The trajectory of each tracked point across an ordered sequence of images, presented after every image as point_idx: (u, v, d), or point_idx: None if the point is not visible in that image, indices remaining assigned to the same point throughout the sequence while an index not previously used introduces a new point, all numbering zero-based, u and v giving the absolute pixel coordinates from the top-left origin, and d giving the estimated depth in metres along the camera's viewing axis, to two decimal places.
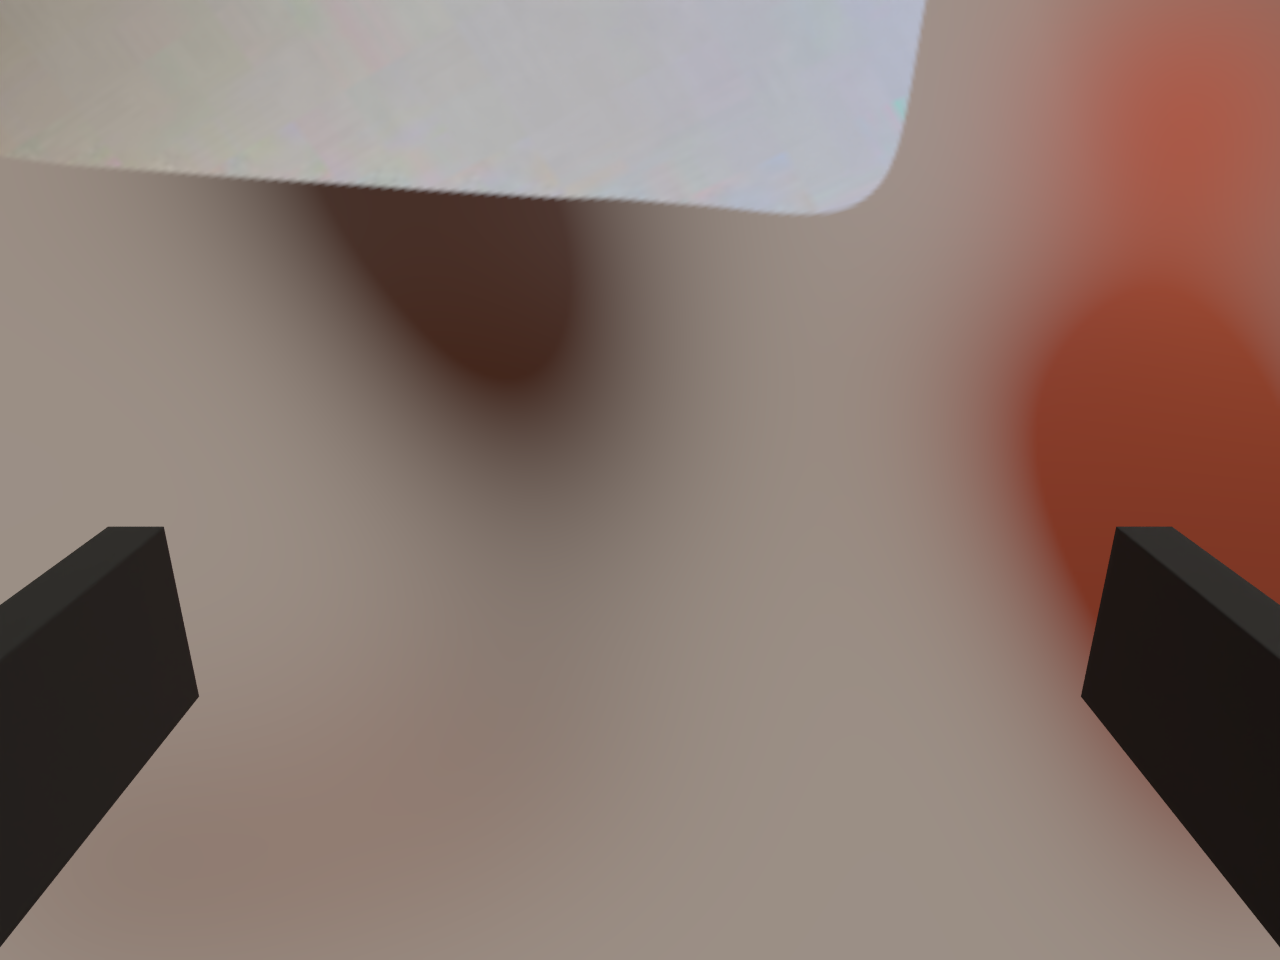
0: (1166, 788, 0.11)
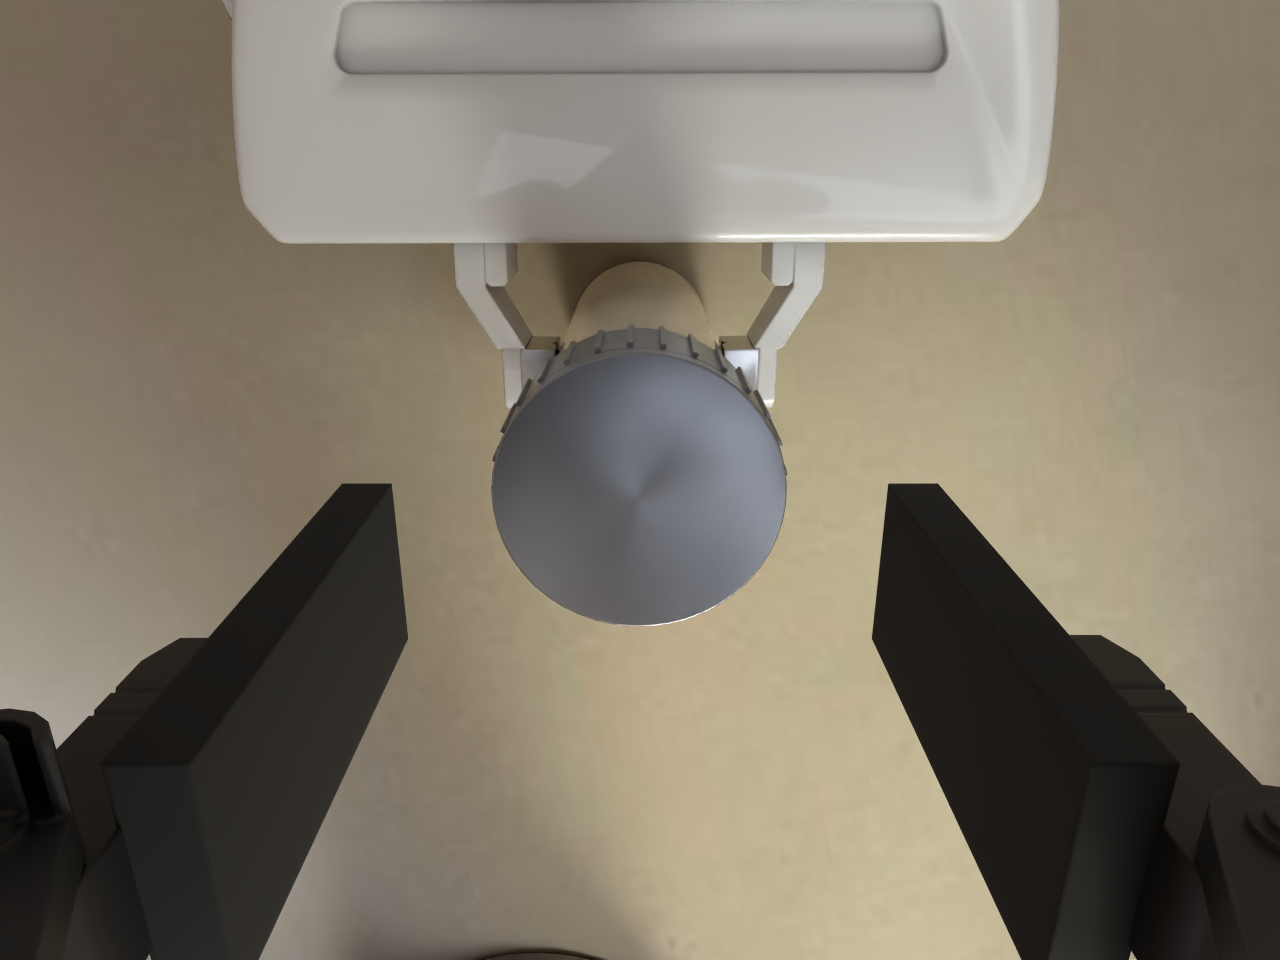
0: (911, 709, 0.12)
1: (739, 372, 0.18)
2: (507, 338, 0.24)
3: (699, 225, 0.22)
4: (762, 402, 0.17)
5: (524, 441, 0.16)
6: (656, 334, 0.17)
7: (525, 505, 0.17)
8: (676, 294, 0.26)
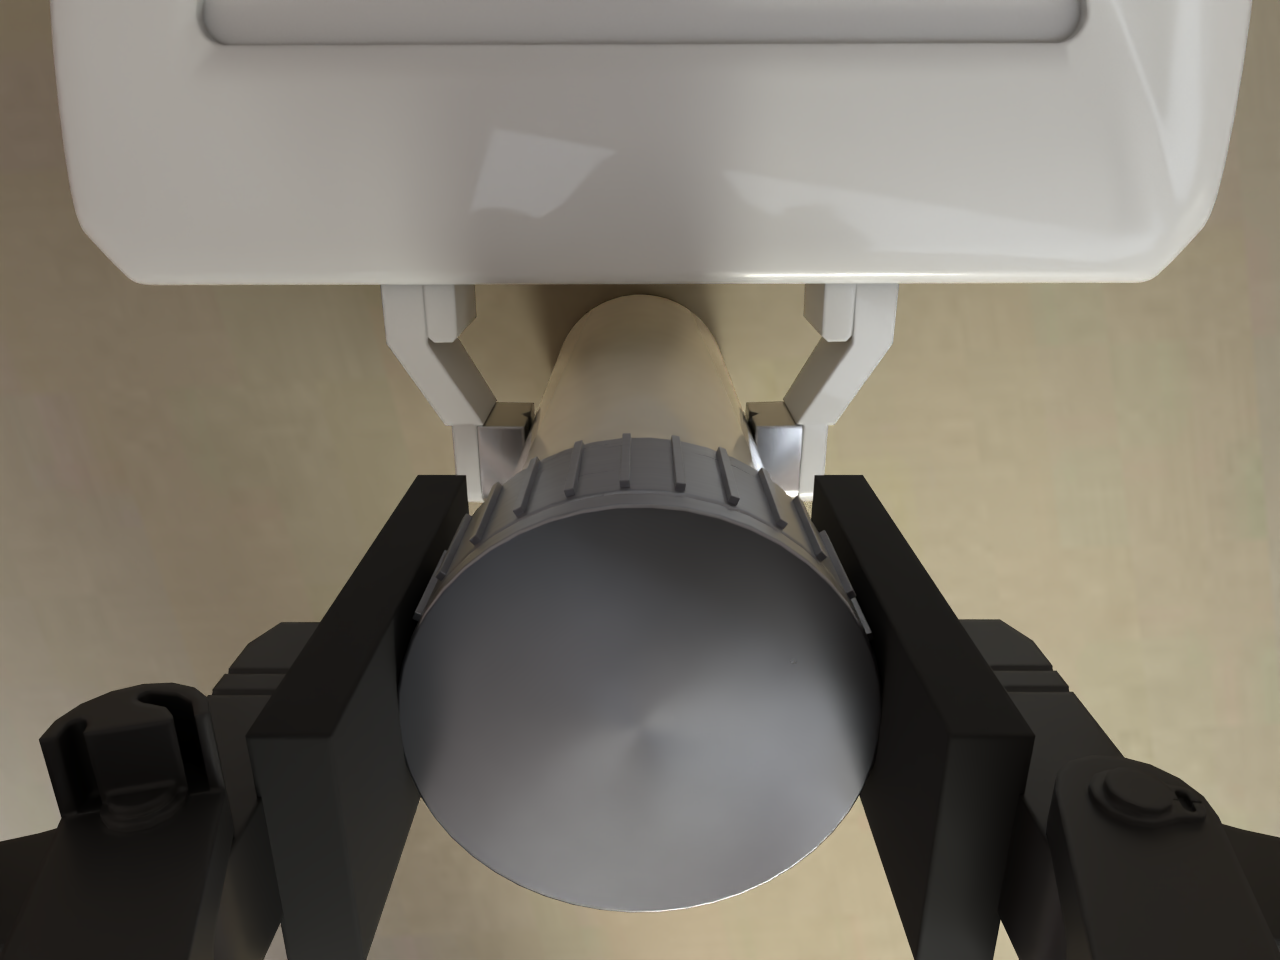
0: None
1: (799, 509, 0.11)
2: (459, 412, 0.18)
3: (724, 261, 0.16)
4: (838, 562, 0.11)
5: (448, 644, 0.10)
6: (667, 452, 0.11)
7: (453, 740, 0.10)
8: (689, 347, 0.19)
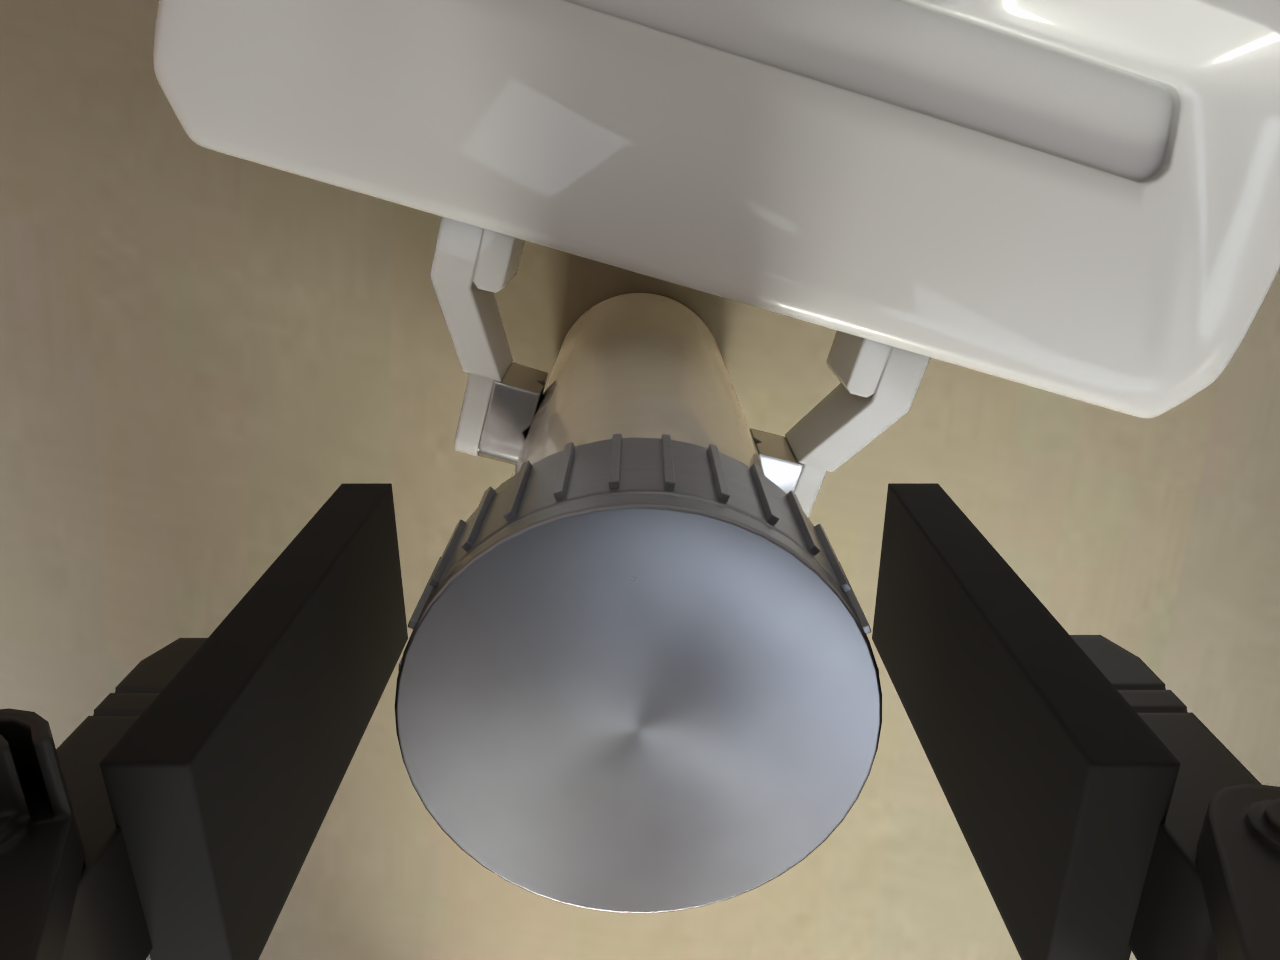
0: (912, 709, 0.12)
1: (564, 458, 0.11)
2: (481, 362, 0.17)
3: (782, 291, 0.16)
4: (610, 460, 0.10)
5: (477, 828, 0.11)
6: None
7: (573, 866, 0.11)
8: (712, 361, 0.19)
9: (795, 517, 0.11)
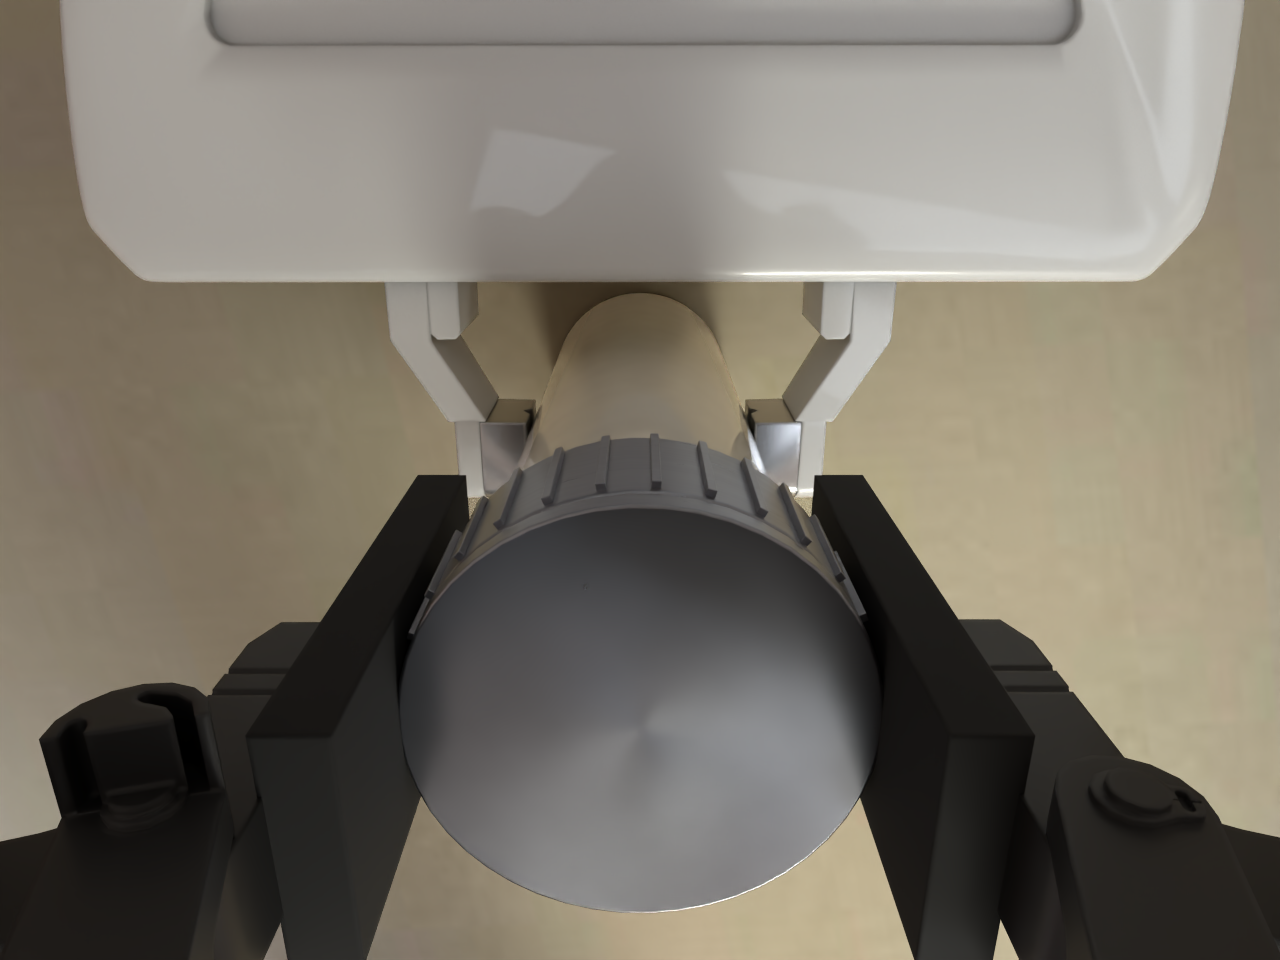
0: None
1: None
2: (461, 408, 0.18)
3: (724, 259, 0.16)
4: (547, 477, 0.10)
5: (520, 859, 0.11)
6: None
7: (622, 875, 0.11)
8: (689, 345, 0.19)
9: (746, 483, 0.10)
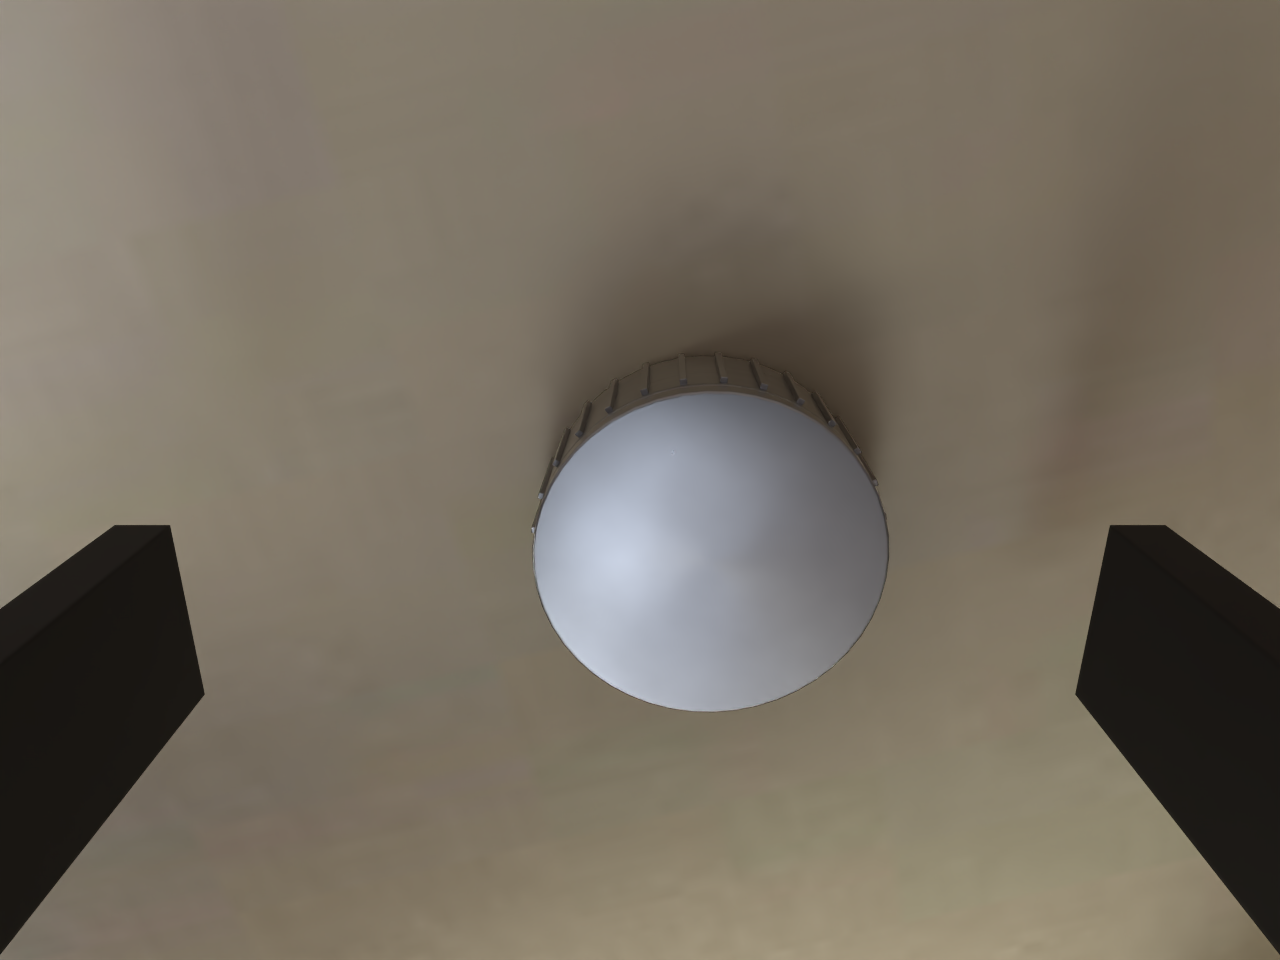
0: (1159, 785, 0.11)
1: None
2: None
3: None
4: (641, 379, 0.14)
5: (617, 666, 0.14)
6: None
7: (693, 680, 0.15)
8: None
9: (787, 386, 0.14)
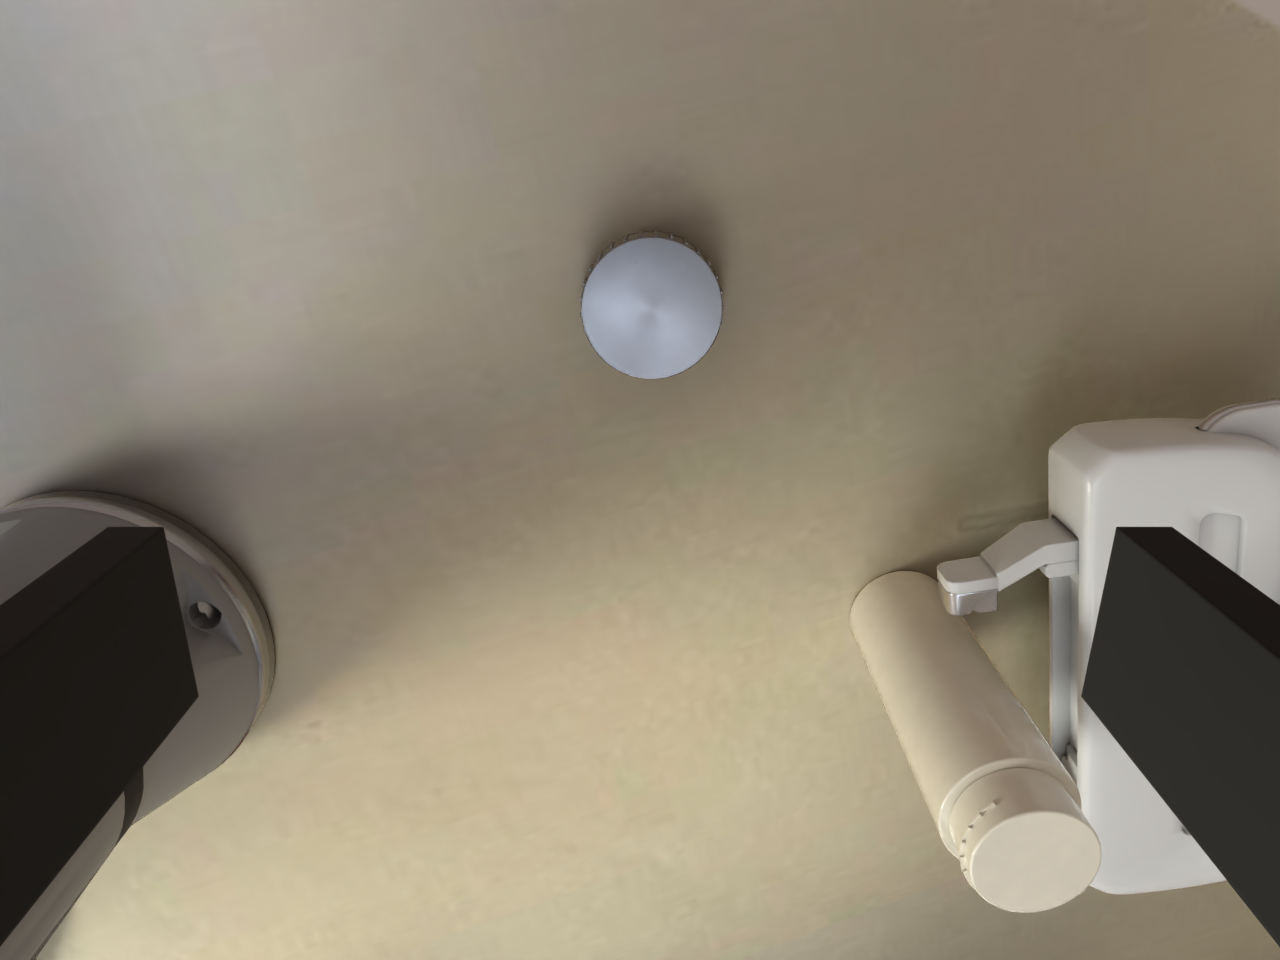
0: (1166, 788, 0.11)
1: None
2: (1005, 580, 0.33)
3: (1096, 731, 0.34)
4: (624, 238, 0.35)
5: (615, 357, 0.35)
6: None
7: (646, 363, 0.35)
8: None
9: (683, 241, 0.35)
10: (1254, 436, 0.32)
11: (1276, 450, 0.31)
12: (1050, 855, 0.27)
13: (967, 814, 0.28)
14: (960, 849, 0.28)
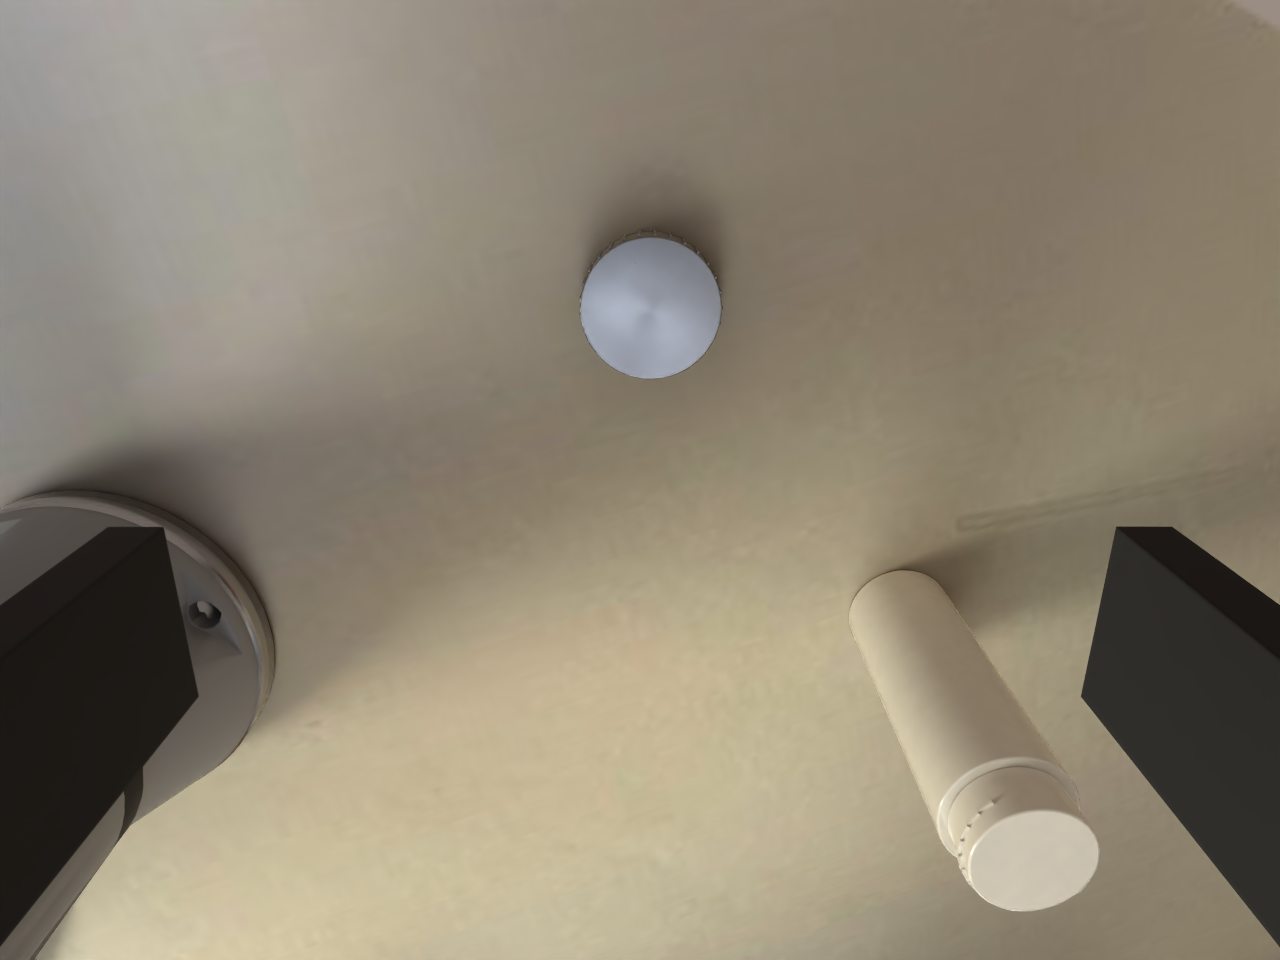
0: (1166, 788, 0.11)
1: (610, 244, 0.35)
2: None
3: None
4: (623, 238, 0.35)
5: (614, 357, 0.35)
6: None
7: (645, 363, 0.35)
8: None
9: (682, 241, 0.35)
10: None
11: None
12: (1048, 853, 0.27)
13: (965, 813, 0.28)
14: (958, 848, 0.28)
